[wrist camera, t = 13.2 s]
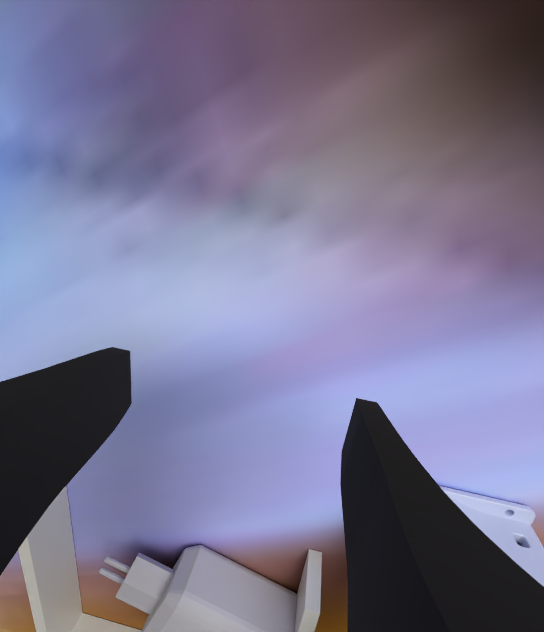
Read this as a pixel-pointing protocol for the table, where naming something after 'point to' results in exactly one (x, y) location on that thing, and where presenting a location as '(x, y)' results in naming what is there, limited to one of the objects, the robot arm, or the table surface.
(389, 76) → the table surface
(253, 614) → the charger
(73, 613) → the box
